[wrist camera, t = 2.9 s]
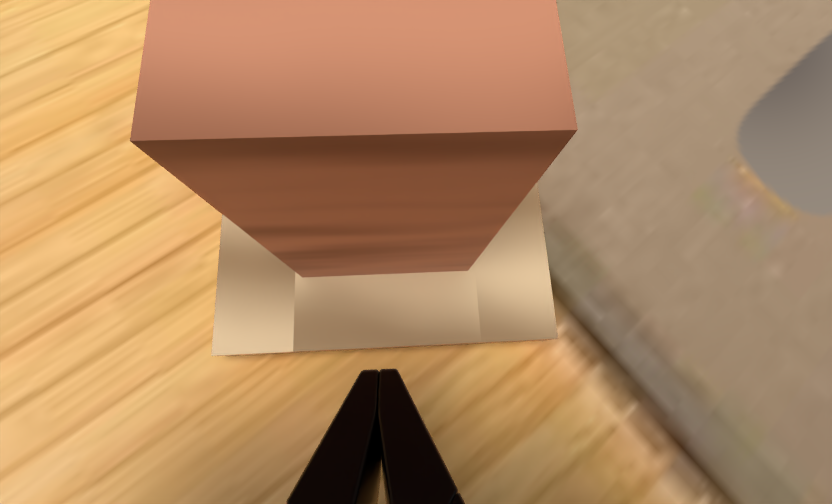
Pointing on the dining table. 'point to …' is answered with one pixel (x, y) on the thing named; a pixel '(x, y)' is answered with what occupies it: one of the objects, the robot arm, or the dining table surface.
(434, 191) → the block
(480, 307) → the shallow open box
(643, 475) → the dining table surface
